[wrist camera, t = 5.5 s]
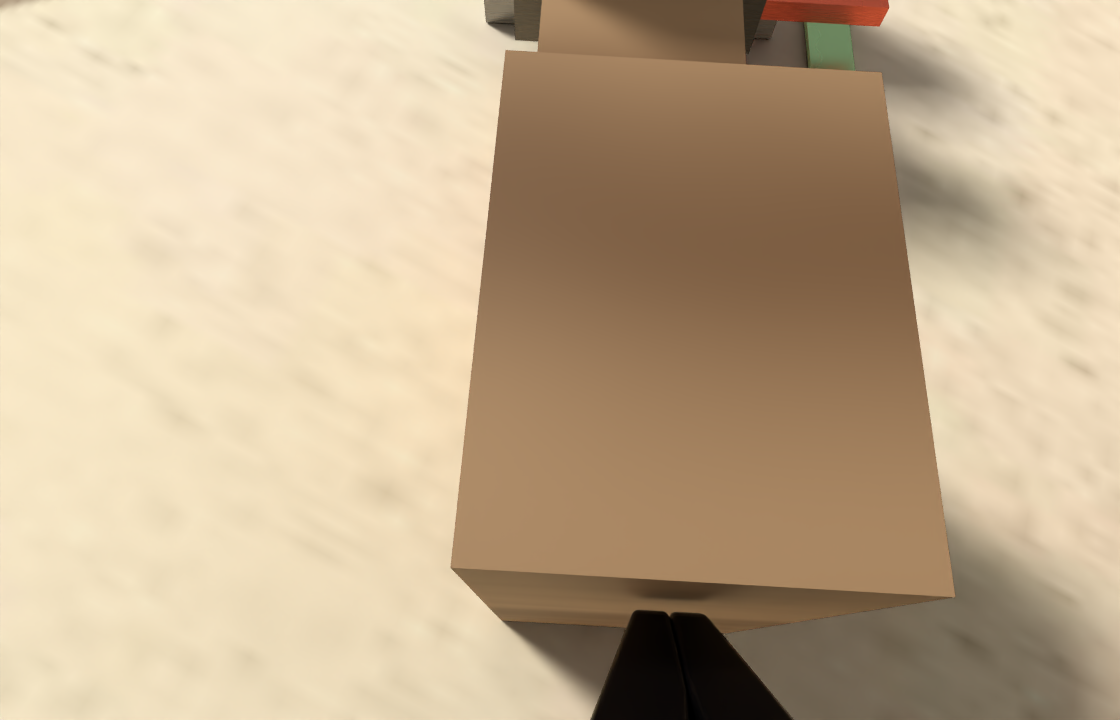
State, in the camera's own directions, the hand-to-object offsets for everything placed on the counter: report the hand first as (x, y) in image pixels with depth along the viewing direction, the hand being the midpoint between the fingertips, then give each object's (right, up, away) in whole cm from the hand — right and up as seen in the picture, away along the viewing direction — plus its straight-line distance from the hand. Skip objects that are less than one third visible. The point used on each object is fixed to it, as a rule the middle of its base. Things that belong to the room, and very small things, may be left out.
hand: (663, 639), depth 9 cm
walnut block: (0, +4, +9) cm, 10 cm away
